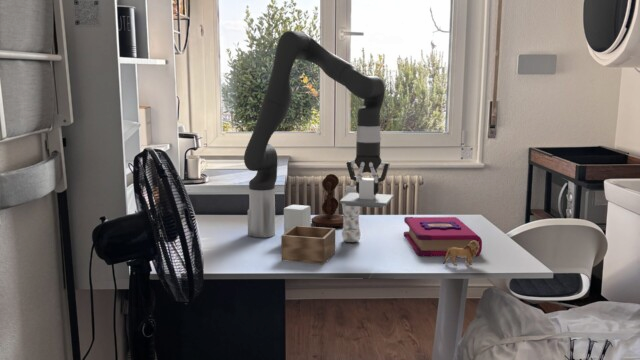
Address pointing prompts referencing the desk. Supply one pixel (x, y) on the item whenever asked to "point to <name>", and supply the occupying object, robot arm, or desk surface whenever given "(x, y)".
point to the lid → (366, 196)
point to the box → (308, 244)
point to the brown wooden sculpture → (329, 205)
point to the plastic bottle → (350, 219)
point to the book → (438, 235)
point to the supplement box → (297, 216)
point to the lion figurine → (463, 252)
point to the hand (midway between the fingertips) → (367, 193)
